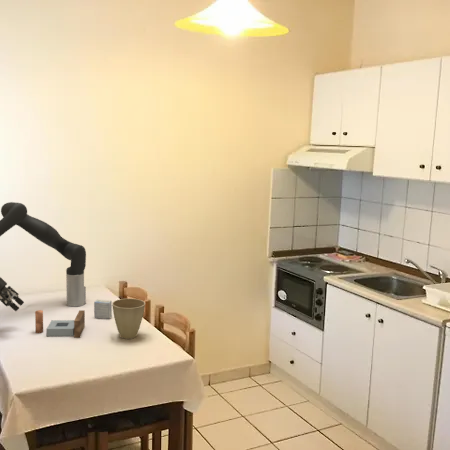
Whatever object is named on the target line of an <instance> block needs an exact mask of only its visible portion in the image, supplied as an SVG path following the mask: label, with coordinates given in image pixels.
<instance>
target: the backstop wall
mask: <svg viewBox="0 0 450 450" xmlns="http://www.w3.org/2000/svg"><path fill="white" fill-rule="evenodd" d="M85 316H86V315H85V310H79V311H78V312H77V315H76V316H75V319H74V336H73V337H74V339H75V338H81V336H82V334H83V331H84V329H85V327H86V325H85V324H86V323H85V322H86V320H85V319H86V317H85Z"/></svg>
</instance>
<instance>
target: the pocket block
mask: <svg viewBox="0 0 450 450" xmlns="http://www.w3.org/2000/svg"><path fill="white" fill-rule="evenodd" d="M74 320H75V319H74ZM74 320H73V319H72V320H71V319H70V320H69V319H68V320H67V319H64V320H63V319H62V320H60V319H59V320H58V319H57V320H52V319H51V321H50V322H49V323H48V326H47V328H46V329H45V330H46V337H49V338H50V337H52V338H53V337H56V338H57V337H60V338H61V337H64V338H65V337H74Z"/></svg>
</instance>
